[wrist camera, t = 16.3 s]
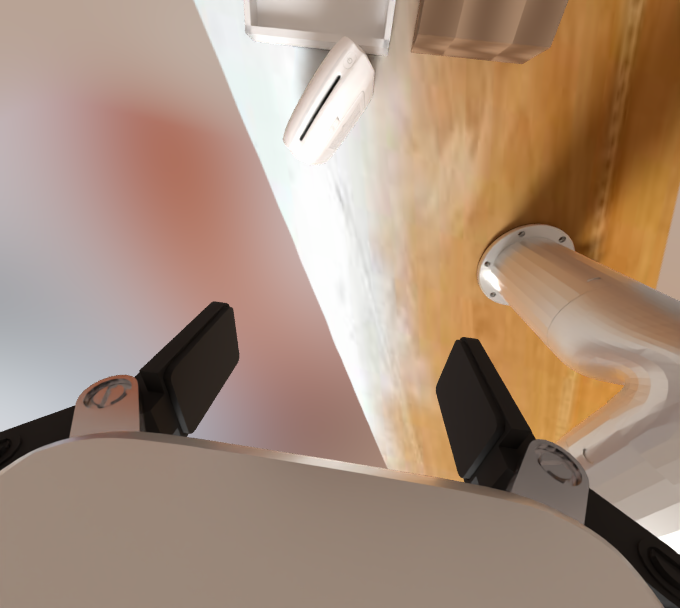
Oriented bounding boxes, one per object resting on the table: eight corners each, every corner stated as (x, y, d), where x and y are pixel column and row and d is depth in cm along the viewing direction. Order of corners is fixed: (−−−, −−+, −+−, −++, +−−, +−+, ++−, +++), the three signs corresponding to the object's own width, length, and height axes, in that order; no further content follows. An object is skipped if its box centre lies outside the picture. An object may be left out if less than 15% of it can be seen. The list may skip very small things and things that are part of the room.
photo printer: (351, 62, 29) (340, 10, 18) (378, 93, 30) (383, 60, 19) (299, 144, 34) (267, 141, 23) (325, 168, 35) (305, 175, 24)
